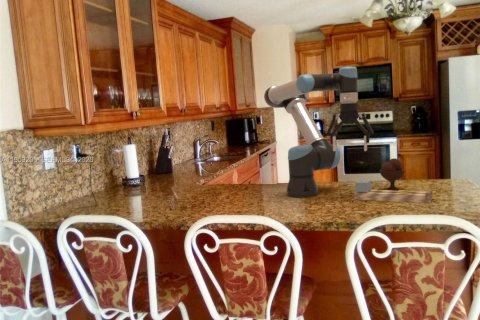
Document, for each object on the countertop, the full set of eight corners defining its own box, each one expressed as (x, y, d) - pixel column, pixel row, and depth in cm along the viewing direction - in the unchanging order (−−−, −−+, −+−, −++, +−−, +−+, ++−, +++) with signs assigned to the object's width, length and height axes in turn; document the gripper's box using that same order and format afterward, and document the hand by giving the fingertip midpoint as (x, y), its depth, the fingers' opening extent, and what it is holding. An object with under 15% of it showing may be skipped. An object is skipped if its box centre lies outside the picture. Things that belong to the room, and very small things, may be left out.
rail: (354, 199, 178) (354, 190, 178) (359, 195, 185) (359, 187, 185) (430, 203, 163) (429, 193, 162) (432, 198, 169) (432, 189, 169)
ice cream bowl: (400, 187, 198) (399, 156, 196) (407, 191, 187) (407, 159, 185) (378, 188, 199) (377, 157, 197) (383, 192, 188) (382, 160, 186)
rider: (356, 196, 178) (355, 182, 178) (360, 193, 184) (359, 179, 184) (367, 196, 176) (367, 182, 175) (371, 193, 182) (371, 180, 181)
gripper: (318, 104, 182) (320, 151, 185) (377, 101, 171) (378, 151, 174) (322, 104, 188) (324, 149, 191) (379, 100, 178) (380, 149, 181)
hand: (349, 150), depth 183 cm, fingers open, 13 cm apart
